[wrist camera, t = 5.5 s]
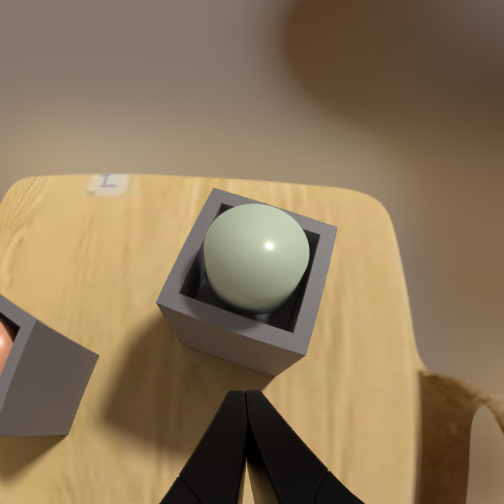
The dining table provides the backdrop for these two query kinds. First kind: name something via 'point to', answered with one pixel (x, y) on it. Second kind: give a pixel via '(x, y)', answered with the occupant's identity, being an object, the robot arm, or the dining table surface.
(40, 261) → the dining table surface
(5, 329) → the terracotta button
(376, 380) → the dining table surface
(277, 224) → the sage button
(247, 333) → the grey square socket
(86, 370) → the grey square housing
